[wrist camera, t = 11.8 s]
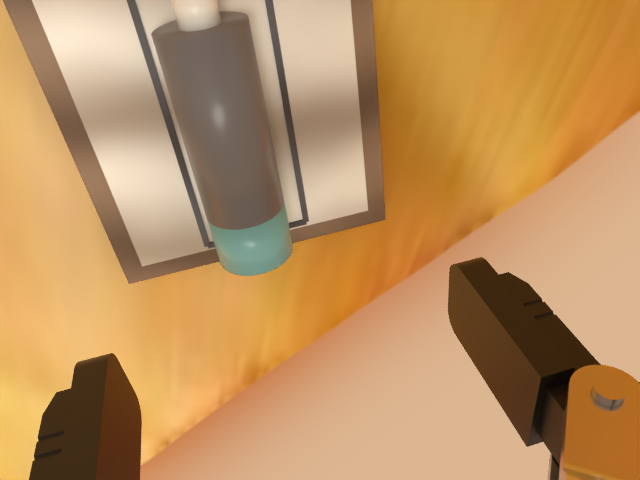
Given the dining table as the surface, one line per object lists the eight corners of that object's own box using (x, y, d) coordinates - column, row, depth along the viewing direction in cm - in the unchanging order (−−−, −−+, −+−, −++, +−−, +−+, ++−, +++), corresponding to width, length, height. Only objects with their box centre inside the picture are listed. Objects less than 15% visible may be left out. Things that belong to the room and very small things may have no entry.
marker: (159, -15, 20) (125, 8, 18) (250, -27, 20) (229, -5, 17) (228, 231, 27) (211, 277, 25) (296, 228, 27) (287, 273, 24)
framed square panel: (-8, -42, 19) (-17, -38, 18) (358, -103, 21) (368, -102, 20) (129, 272, 28) (128, 287, 27) (379, 210, 30) (387, 222, 29)
